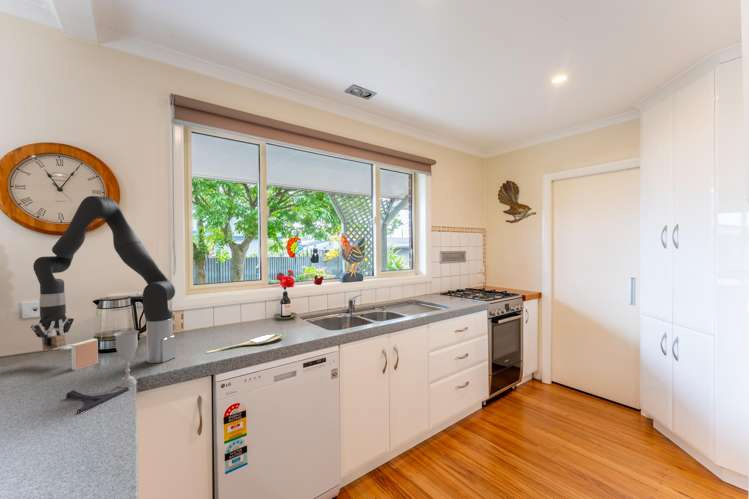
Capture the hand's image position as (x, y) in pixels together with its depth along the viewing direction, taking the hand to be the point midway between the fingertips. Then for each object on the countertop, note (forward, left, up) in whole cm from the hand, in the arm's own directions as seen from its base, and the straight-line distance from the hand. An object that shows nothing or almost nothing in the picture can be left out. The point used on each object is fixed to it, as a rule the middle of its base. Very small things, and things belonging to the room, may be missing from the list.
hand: (53, 345), depth 129 cm
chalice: (-51, +10, -8) cm, 52 cm away
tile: (-17, 0, -8) cm, 18 cm away
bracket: (-49, +21, -8) cm, 54 cm away
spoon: (-65, -36, -8) cm, 75 cm away
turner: (-4, 0, -1) cm, 4 cm away
